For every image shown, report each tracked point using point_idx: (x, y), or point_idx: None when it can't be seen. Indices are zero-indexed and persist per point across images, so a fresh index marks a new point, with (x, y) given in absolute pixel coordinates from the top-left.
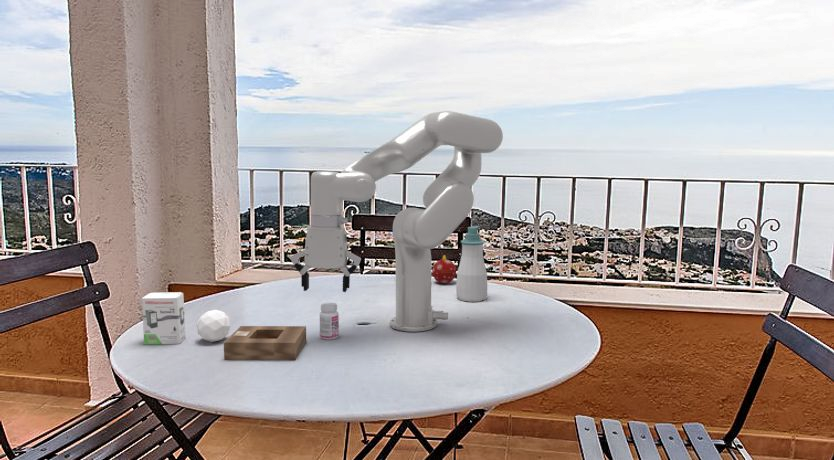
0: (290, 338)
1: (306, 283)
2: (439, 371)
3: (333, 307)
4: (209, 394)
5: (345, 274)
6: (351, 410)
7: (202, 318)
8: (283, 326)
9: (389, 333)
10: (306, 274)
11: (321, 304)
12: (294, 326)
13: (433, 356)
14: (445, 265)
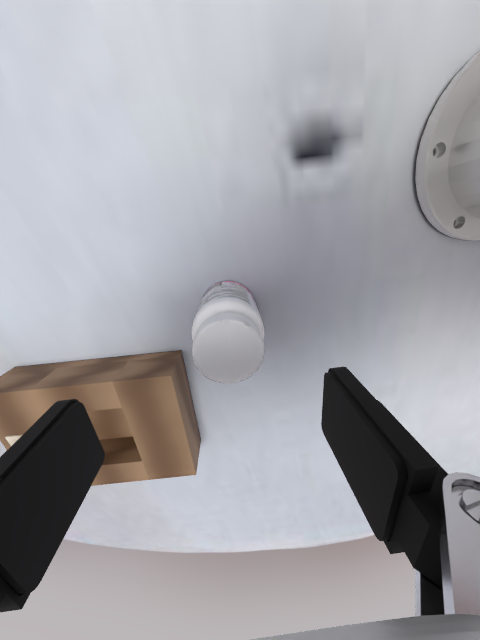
0: (173, 456)
1: (79, 507)
2: (457, 447)
3: (254, 370)
4: (135, 536)
5: (424, 573)
6: (322, 539)
7: None
8: (103, 385)
9: (399, 255)
10: (1, 590)
11: (194, 358)
12: (137, 381)
13: (469, 393)
14: None
